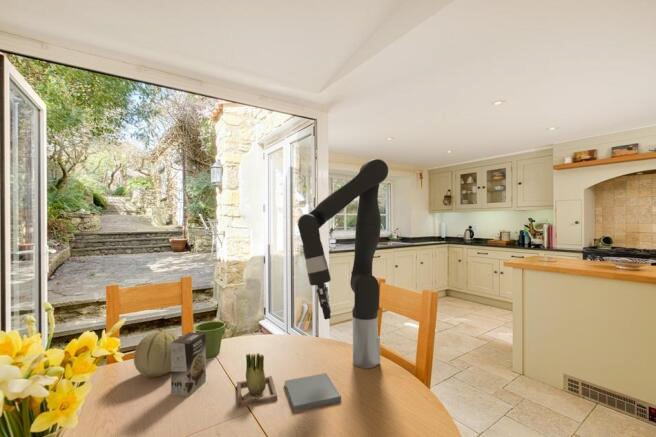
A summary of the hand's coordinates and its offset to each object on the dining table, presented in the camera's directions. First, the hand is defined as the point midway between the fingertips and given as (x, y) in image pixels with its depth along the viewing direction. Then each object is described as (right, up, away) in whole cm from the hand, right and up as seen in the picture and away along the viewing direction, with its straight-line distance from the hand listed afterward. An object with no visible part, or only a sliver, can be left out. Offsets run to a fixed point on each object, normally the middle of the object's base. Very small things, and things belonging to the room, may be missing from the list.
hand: (327, 316), depth 104 cm
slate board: (-5, -20, -12) cm, 23 cm away
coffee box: (-44, -20, -8) cm, 49 cm away
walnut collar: (-22, -20, -11) cm, 32 cm away
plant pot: (-47, -21, +16) cm, 54 cm away
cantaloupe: (-59, -21, +1) cm, 62 cm away
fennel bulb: (-22, -20, -11) cm, 32 cm away
